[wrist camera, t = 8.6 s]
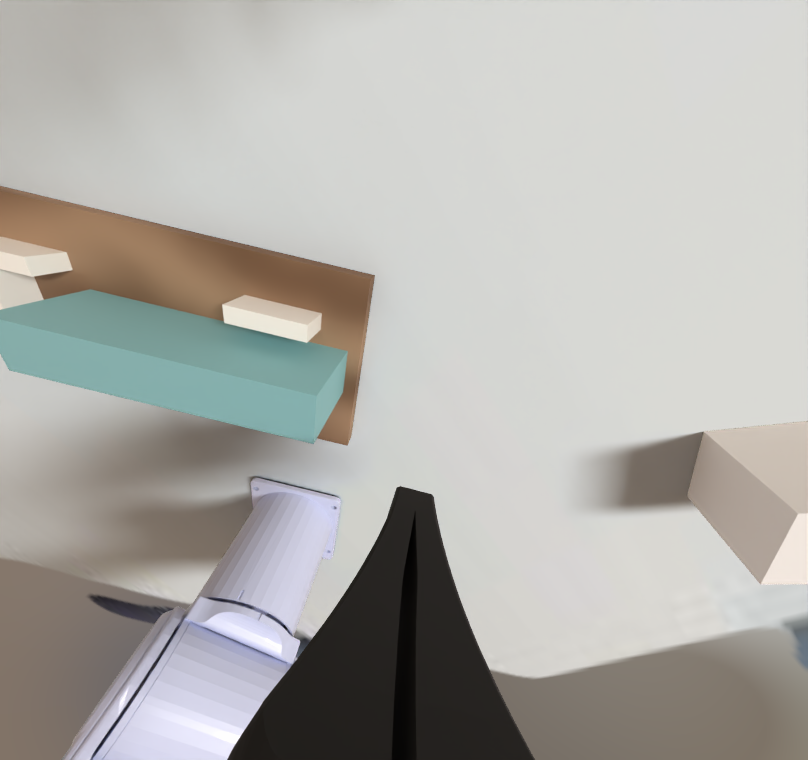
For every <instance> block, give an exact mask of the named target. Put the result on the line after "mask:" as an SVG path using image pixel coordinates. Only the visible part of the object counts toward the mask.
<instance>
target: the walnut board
mask: <svg viewBox="0 0 808 760" xmlns="http://www.w3.org/2000/svg"><path fill="white" fill-rule="evenodd" d="M0 237H5V238H9V239H14V240H18V241H22V242H26V243H30V244H34V245H39V246H43V247H47V248H51V249H55V250H60V251H64V252H67V255H68V258H69V261H70V264H71V267H72V269H73V270H70V271H64V272H58V273H52V274H46V275H40V276H34V278H35V280H36V282H37V285H38V287H39V289H40V292H41V294H42V297H43V299H44V300H45V299H50V298H54V297H58V296H63V295H67V294H72V293H76V292H81V291H85V290H89V289H91V290H95V291H99V292H104V293H108V294H112V295H116V296H120V297H124V298H129V299H133V300H137V301H141V302H145V303H149V304H154V305H158V306H162V307H166V308H170V309H174V310H178V311H183V312H187V313H191V314H195V315H199V316H203V317H208V318H212V319H216V320H220V321H224V317H223V308H222V304H225V303H227V302H229V301H232V300H234V299H236V298H239V297H241V296H243V295H247V296H251V297H256V298H260V299H264V300H268V301H272V302H277V303H281V304H285V305H289V306H293V307H297V308H302V309H306V310H310V311H314V312H318V313H322V317H321V330H320V331H319V332H318V333H317V334H316V335H315V336H314V337H312V338H311V339H310V340H309V341H308V342H312V343H316V344H320V345H324V346H328V347H332V348H337V349H341V350H345V351H348V354H347V362H346V371H345V380H344V388H343V393H342V395H341V397H340V398H339V400H338V402H337V404H336V405H335V407H334V409H333V411H332V412H331V414H330V416H329V418H328V419H327V421H326V423H325V425H324V427H323V428H322V430H321V432H320V434H319V435H318V437H317V438H318V439H322V440H327V441H331V442H335V443H339V444H343V445H348V443H349V440H350V438H351V434H352V427H353V420H354V413H355V406H356V400H357V393H358V386H359V379H360V372H361V366H362V359H363V352H364V345H365V338H366V332H367V325H368V318H369V311H370V304H371V298H372V291H373V284H374V277H375V275H371V274H367V273H362V272H358V271H354V270H350V269H346V268H341V267H337V266H333V265H329V264H325V263H321V262H316V261H312V260H308V259H304V258H300V257H295V256H291V255H287V254H283V253H279V252H274V251H270V250H266V249H262V248H258V247H253V246H249V245H245V244H241V243H237V242H233V241H228V240H224V239H220V238H216V237H212V236H207V235H203V234H199V233H195V232H191V231H186V230H182V229H178V228H174V227H170V226H166V225H161V224H157V223H153V222H149V221H145V220H140V219H136V218H132V217H128V216H124V215H119V214H115V213H111V212H107V211H103V210H98V209H94V208H90V207H86V206H82V205H78V204H73V203H69V202H65V201H61V200H57V199H52V198H48V197H44V196H40V195H36V194H31V193H27V192H23V191H19V190H15V189H10V188H6V187H2V186H0Z"/></svg>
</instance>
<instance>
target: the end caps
mask: <svg viewBox="0 0 808 760" xmlns="http://www.w3.org/2000/svg"><path fill="white" fill-rule="evenodd" d="M70 270H73V269H72V267H71V264H70V261H69V258H68V255H67V252H64V251H60V250H55V249H51V248H47V247H43V246H39V245H34V244H30V243H26V242H22V241H18V240H14V239H9V238H5V237H0V310H1V309H5V308H10V307H14V306H19V305H23V304H27V303H32V302H36V301H41V300H44V299H43V297H42V294H41V292H40V289H39V287H38V285H37V282H36V280H35V278H34V276H40V275H46V274H52V273H58V272H64V271H70ZM222 308H223V317H224V323H227V324H231V325H235V326H239V327H243V328H247V329H252V330H256V331H260V332H264V333H268V334H272V335H277V336H281V337H285V338H289V339H293V340H297V341H302V342H306V343H307V342H308V341H309V340H310V339H311V338H312V337H314V336H315V335H316V334H317V333H318V332H319V331H320V330H321V317H322V313H318V312H314V311H310V310H306V309H302V308H297V307H293V306H289V305H285V304H281V303H277V302H272V301H268V300H264V299H260V298H256V297H251V296H247V295H243V296H241V297H239V298H236V299H234V300H232V301H229V302H227V303H225V304H222Z"/></svg>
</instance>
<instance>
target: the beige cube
mask: <svg viewBox="0 0 808 760" xmlns="http://www.w3.org/2000/svg"><path fill="white" fill-rule="evenodd" d="M687 497H688V498H689V499H690V500H691V502H692V503H693V504H694V505H695V506H696V508H697V509H698V510H699V511H700V512H701V514H702V515H703V516H704V517H705V518H706V520H707V521H708V522H709V523H710V524H711V526H712V527H713V528H714V529H715V530H716V532H717V533H718V534H719V535H720V536H721V538H722V539H723V540H724V541H725V542H726V544H727V545H728V546H729V547H730V548H731V550H732V551H733V552H734V553H735V554H736V556H737V557H738V558H739V559H740V560H741V562H742V563H743V564H744V565H745V566H746V568H747V569H748V570H749V571H750V572H751V574H752V575H753V576H754V577H755V578H756V580H757V581H758V582H759V583H760V584H808V421H803V422H793V423H783V424H773V425H763V426H753V427H743V428H733V429H723V430H714V431H704V433H703V436H702V440H701V444H700V448H699V452H698V456H697V459H696V463H695V467H694V471H693V475H692V478H691V482H690V486H689V490H688V494H687Z"/></svg>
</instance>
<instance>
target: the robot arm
mask: <svg viewBox="0 0 808 760" xmlns="http://www.w3.org/2000/svg"><path fill="white" fill-rule="evenodd" d="M251 494H252V505H253V511H252V512H251V514H250V515H249V517H248V519H247V520H246V522H245V523H244V525H243V526H242V528H241V529H240V531H239V533H238V534H237V536H236V537H235V539H234V540H233V542H232V543H231V545H230V547H229V548H228V550H227V551H226V553H225V554H224V556H223V557H222V559H221V561H220V562H219V564H218V565H217V567H216V568H215V570H214V571H213V573H212V575H211V576H210V578H209V579H208V581H207V582H206V584H205V585H204V587H203V589H202V590H201V592H200V593H199V595H198V596H197V598H196V599H195V601H194V602H193V603H192V604H191V605H190V607H189V608H188V609H187V610H186V611H185V609H184V608H181V607H175V608H174V609H173V610H172V611H168V612H166V613H164V614H162V615H161V616H160V618H159V619H158V620H157V622H156V623H155V624H154V626H153V627H152V628H151V630H150V631H149V632H148V634H147V635H146V637H145V638H144V640H143V641H142V642H141V644H140V645H139V646H138V648H137V649H136V650H135V652H134V653H133V655H132V656H131V658H130V659H129V660H128V662H127V663H126V664H125V666H124V667H123V669H122V670H121V672H120V673H119V675H118V676H117V677H116V679H115V680H114V681H113V683H112V684H111V686H110V687H109V689H108V690H107V691H106V693H105V694H104V696H103V697H102V699H101V700H100V701H99V703H98V704H97V706H96V707H95V709H94V710H93V711H92V713H91V714H90V716H89V717H88V719H87V720H86V722H85V723H84V725H83V726H82V728H81V729H80V731H79V732H78V734H77V735H76V737H75V738H74V740H73V743H72V746H71V747H70V748H69V750H68V751H67V752H66V754H65V755H64V757H63V758H62V760H535V759H534V757H533V756H532V754H531V752H530V750H529V748H528V747H527V744H526V742H525V741H524V739H523V737H522V735H521V733H520V731H519V729H518V727H517V725H516V724H515V722H514V720H513V718H512V716H511V714H510V712H509V710H508V708H507V706H506V704H505V702H504V700H503V698H502V696H501V694H500V692H499V690H498V687H497V686H496V683H495V681H494V679H493V677H492V674H491V673H490V670H489V668H488V666H487V664H486V661H485V659H484V657H483V655H482V653H481V650H480V648H479V646H478V644H477V641H476V639H475V636H474V634H473V631H472V629H471V627H470V624H469V622H468V619H467V616H466V614H465V611H464V609H463V606H462V603H461V600H460V598H459V595H458V592H457V589H456V586H455V583H454V580H453V577H452V574H451V570H450V567H449V564H448V560H447V557H446V553H445V549H444V546H443V542H442V538H441V534H440V529H439V525H438V520H437V515H436V509H435V503H434V497H433V495H432V494H428V493H424V492H420V491H416V490H413V489H409V488H405V487H401V486H400V487H397V489H396V492H395V495H394V498H393V501H392V504H391V507H390V510H389V513H388V516H387V519H386V522H385V524H384V526H383V528H382V530H381V532H380V534H379V536H378V538H377V540H376V542H375V544H374V546H373V547H372V549H371V551H370V553H369V555H368V556H367V558H366V560H365V562H364V563H363V565H362V567H361V568H360V570H359V572H358V573H357V575H356V577H355V578H354V580H353V581H352V583H351V584H350V586H349V588H348V589H347V591H346V592H345V594H344V595H343V597H342V598H341V599H340V601H339V602H338V604H337V605H336V607H335V608H334V610H333V611H332V613H331V614H330V616H329V617H328V618H327V620H326V621H325V623H324V624H323V625H322V627H321V628H320V629H319V631H318V632H317V633H316V635H315V636H314V637H313V639H312V640H311V641H310V643H309V644H308V645H307V647H306V648H305V649H304V651H303V652H302V653H301V655H300V656H299V657H298V658H296V657H295V656H296V653H297V650H298V647H299V644H300V640H298V639H296V638H294V637H293V636H294V634H295V631H296V628H297V625H298V623H299V620H300V617H301V614H302V612H303V609H304V606H305V603H306V600H307V598H308V595H309V592H310V589H311V586H312V584H313V581H314V578H315V575H316V573H317V570H318V567H319V564H320V561H321V559H322V558H324V559H332V557H333V553H334V546H335V539H336V532H337V526H338V519H339V512H340V505H341V500H340V499H339V498H338V497H335V496H330V495H326V494H322V493H318V492H314V491H310V490H306V489H302V488H298V487H293V486H289V485H285V484H281V483H277V482H273V481H269V480H265V479H261V478H253V479H252V481H251Z"/></svg>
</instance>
